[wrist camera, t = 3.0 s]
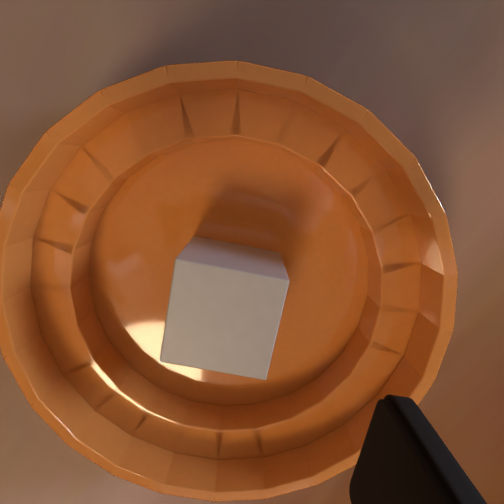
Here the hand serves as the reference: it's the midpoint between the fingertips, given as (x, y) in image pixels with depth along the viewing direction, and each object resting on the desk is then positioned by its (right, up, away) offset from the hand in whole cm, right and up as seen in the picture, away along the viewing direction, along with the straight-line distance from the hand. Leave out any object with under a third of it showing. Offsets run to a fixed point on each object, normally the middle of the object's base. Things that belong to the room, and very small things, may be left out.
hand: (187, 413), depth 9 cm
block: (0, +2, +10) cm, 10 cm away
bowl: (0, +2, +10) cm, 11 cm away
